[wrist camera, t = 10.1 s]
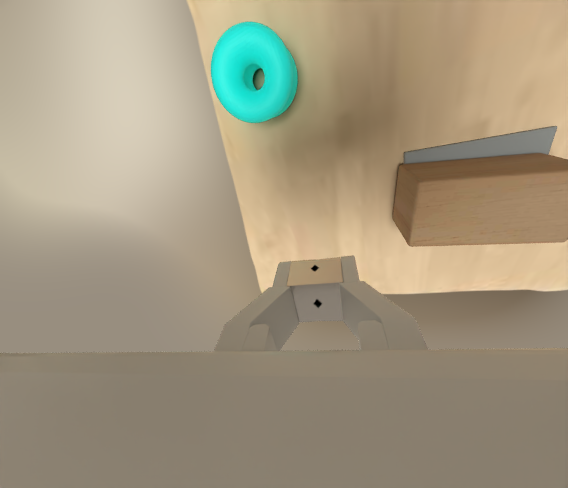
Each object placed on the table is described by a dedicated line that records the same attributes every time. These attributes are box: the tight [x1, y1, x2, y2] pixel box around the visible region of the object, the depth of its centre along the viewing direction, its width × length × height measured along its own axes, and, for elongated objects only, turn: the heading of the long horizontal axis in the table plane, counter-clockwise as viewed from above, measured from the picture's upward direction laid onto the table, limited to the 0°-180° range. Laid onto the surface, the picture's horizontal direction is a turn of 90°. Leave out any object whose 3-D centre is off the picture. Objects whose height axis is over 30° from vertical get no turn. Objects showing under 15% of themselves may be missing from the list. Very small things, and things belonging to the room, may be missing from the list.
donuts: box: [211, 22, 298, 123], centre depth 32 cm, size 10×10×10 cm
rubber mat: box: [404, 126, 557, 164], centre depth 40 cm, size 14×20×1 cm
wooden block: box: [393, 153, 568, 247], centre depth 36 cm, size 10×10×20 cm
